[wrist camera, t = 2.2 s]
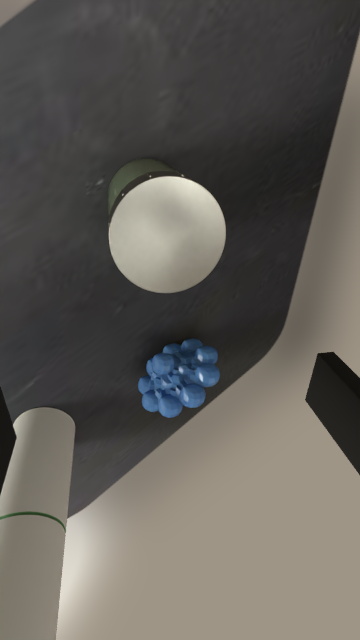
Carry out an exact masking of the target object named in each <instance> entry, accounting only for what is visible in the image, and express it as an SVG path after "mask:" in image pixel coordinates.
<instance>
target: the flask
mask: <svg viewBox="0 0 360 640" xmlns="http://www.w3.org/2000/svg"><path fill="white" fill-rule="evenodd" d="M154 171H172V172H178V171H176V170H175V169H173V168H171V167H170V166H168V165H167V164H165V163H163V162H161V161H158V160H154V159H138V160H134V161H132V162H129V163H128V164H126V165H124V166H123V167H122V168H121V169H120V170H119V171H118V172H117V173H116V174H115V176H114V177H113V179H112V181H111V184H110V186H109V190H108V216H109V215H110V211H111V208H112V205H113V203H114V201H115V199H116V197H117V196H118V194H119V193H120V192H121V189H123V188H124V187H125V186H126V185H127V184H128V183H130V182H131V181H132V180H134V179H135V178H137V177H139V176H141V175H144V174H146V172H148V173H150V172H154ZM179 173H180V172H179ZM182 175H183V174H182Z"/></svg>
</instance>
